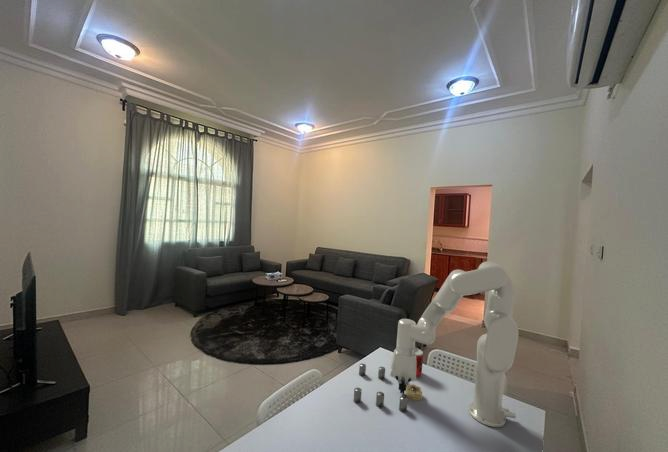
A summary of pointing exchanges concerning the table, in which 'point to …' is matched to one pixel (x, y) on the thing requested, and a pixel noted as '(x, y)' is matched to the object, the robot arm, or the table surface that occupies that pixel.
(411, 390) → the brass nut
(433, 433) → the table surface
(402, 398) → the posts
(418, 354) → the canned food
